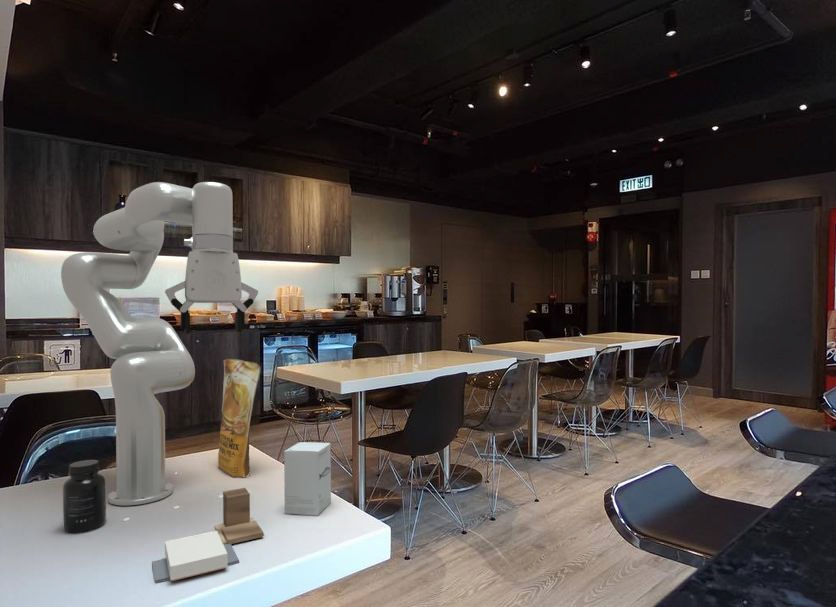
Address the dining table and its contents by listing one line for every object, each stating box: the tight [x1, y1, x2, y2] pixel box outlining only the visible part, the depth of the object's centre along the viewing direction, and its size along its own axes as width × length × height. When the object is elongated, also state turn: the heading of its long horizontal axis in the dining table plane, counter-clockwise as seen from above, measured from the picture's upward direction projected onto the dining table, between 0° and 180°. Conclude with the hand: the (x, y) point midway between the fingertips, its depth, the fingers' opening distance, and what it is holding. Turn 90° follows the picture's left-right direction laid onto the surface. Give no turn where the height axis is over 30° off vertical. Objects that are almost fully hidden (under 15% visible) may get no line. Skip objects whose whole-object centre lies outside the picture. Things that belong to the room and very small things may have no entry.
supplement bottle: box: [62, 459, 107, 534], centre depth 99 cm, size 7×7×12 cm
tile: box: [164, 530, 229, 582], centre depth 83 cm, size 2×8×10 cm
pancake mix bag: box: [217, 358, 262, 478], centre depth 134 cm, size 7×19×28 cm, turn 39°
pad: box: [214, 516, 265, 545], centre depth 96 cm, size 9×7×1 cm
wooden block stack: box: [222, 487, 264, 545], centre depth 95 cm, size 10×6×6 cm, turn 30°
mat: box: [151, 544, 240, 584], centre depth 83 cm, size 7×12×1 cm, turn 120°
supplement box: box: [283, 441, 332, 517], centre depth 107 cm, size 7×7×13 cm
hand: (213, 332), depth 104 cm, fingers open, 9 cm apart
